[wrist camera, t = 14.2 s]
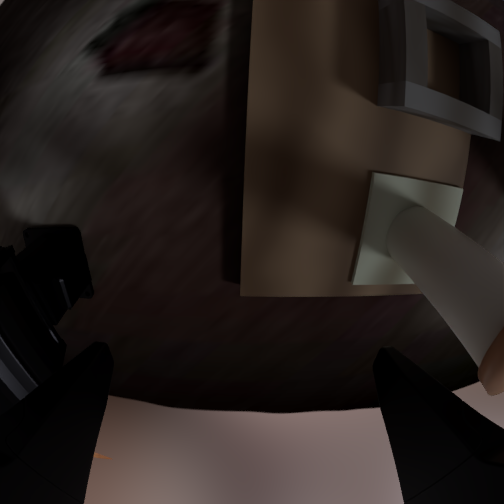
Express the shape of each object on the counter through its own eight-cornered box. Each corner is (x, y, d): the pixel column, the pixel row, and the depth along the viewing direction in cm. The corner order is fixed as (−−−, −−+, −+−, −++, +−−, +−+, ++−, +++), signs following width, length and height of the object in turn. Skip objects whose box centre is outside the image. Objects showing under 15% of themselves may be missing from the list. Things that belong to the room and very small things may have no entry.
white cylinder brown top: (369, 250, 19) (471, 392, 8) (407, 188, 17) (552, 289, 6) (414, 276, 21) (505, 397, 9) (449, 222, 19) (566, 320, 7)
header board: (240, 285, 23) (240, 327, 18) (253, -21, 12) (257, -56, 8) (424, 284, 23) (451, 316, 19) (461, 36, 13) (500, 30, 9)
